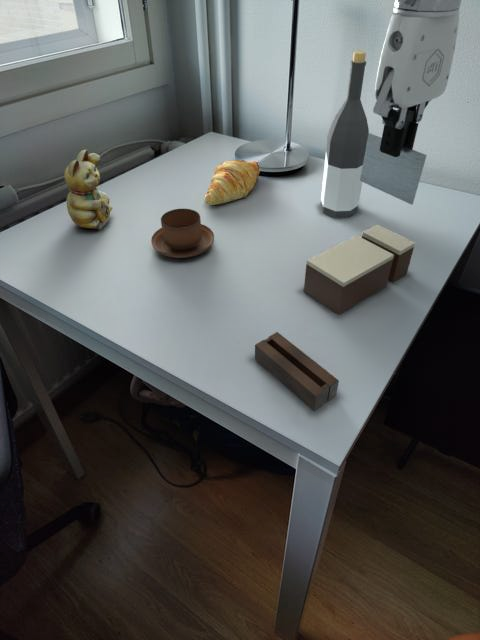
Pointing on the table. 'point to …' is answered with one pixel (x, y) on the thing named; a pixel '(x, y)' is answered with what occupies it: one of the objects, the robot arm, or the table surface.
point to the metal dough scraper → (393, 167)
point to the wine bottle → (346, 149)
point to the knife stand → (296, 370)
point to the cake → (347, 273)
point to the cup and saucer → (182, 234)
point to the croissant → (232, 181)
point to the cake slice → (392, 249)
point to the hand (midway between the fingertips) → (395, 150)
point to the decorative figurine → (86, 192)
